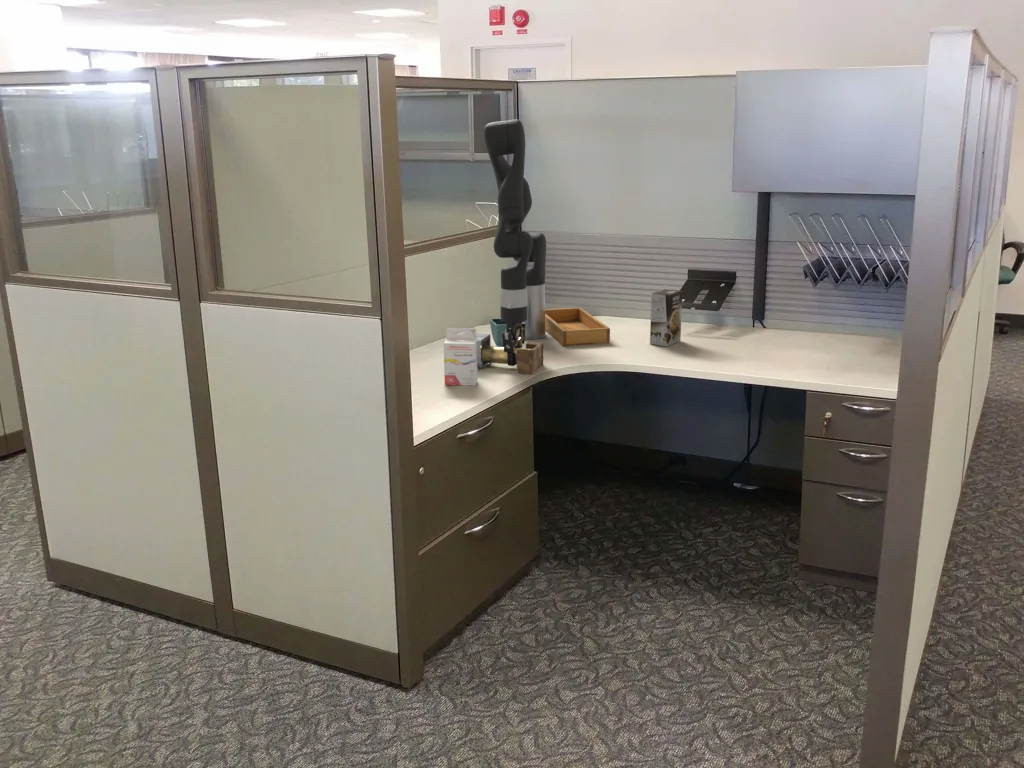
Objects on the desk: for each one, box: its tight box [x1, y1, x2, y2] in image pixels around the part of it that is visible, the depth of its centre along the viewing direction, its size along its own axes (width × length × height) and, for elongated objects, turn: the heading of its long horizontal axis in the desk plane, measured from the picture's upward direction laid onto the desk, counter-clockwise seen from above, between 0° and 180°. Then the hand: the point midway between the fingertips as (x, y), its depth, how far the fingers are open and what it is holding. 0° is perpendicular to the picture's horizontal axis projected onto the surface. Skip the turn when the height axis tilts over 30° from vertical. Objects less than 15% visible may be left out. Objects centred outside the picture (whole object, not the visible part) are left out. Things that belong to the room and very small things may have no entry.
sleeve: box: [460, 332, 492, 370], centre depth 262 cm, size 8×8×8 cm
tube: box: [482, 345, 532, 366], centre depth 259 cm, size 16×5×5 cm, turn 71°
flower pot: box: [489, 317, 524, 347], centre depth 279 cm, size 9×9×9 cm
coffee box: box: [649, 288, 684, 347], centre depth 283 cm, size 9×6×16 cm
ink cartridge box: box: [443, 327, 478, 386], centre depth 243 cm, size 9×5×15 cm, turn 86°
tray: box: [545, 307, 611, 347], centre depth 298 cm, size 31×15×6 cm, turn 13°
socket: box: [516, 341, 544, 376], centre depth 257 cm, size 10×4×6 cm, turn 161°
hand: (514, 362), depth 259 cm, fingers closed on tube, 4 cm apart
